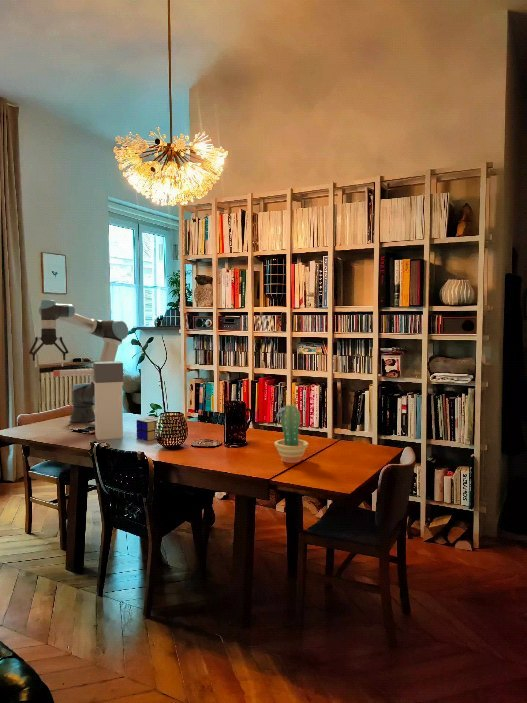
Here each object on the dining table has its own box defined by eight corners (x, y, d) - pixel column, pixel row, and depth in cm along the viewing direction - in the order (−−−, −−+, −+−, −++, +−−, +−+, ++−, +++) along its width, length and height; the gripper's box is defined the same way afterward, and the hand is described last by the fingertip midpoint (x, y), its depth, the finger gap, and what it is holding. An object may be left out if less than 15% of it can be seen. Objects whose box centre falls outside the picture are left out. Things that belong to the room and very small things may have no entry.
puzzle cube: (136, 438, 286) (136, 419, 285) (152, 435, 293) (151, 417, 293) (147, 441, 279) (147, 422, 279) (163, 438, 286) (162, 419, 286)
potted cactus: (285, 454, 254) (286, 401, 253) (314, 459, 245) (315, 404, 244) (267, 461, 242) (267, 405, 240) (296, 466, 233) (297, 409, 231)
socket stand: (96, 440, 280) (95, 363, 278) (94, 434, 293) (93, 361, 291) (124, 438, 285) (123, 363, 283) (120, 433, 298) (119, 361, 296)
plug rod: (53, 376, 276) (53, 370, 275) (53, 376, 278) (53, 370, 278) (104, 375, 285) (104, 369, 285) (103, 374, 288) (103, 368, 287)
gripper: (23, 328, 287) (24, 367, 288) (73, 328, 296) (73, 366, 298) (24, 327, 294) (24, 366, 295) (72, 327, 303) (72, 365, 304)
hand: (49, 366), depth 296 cm, fingers open, 13 cm apart
